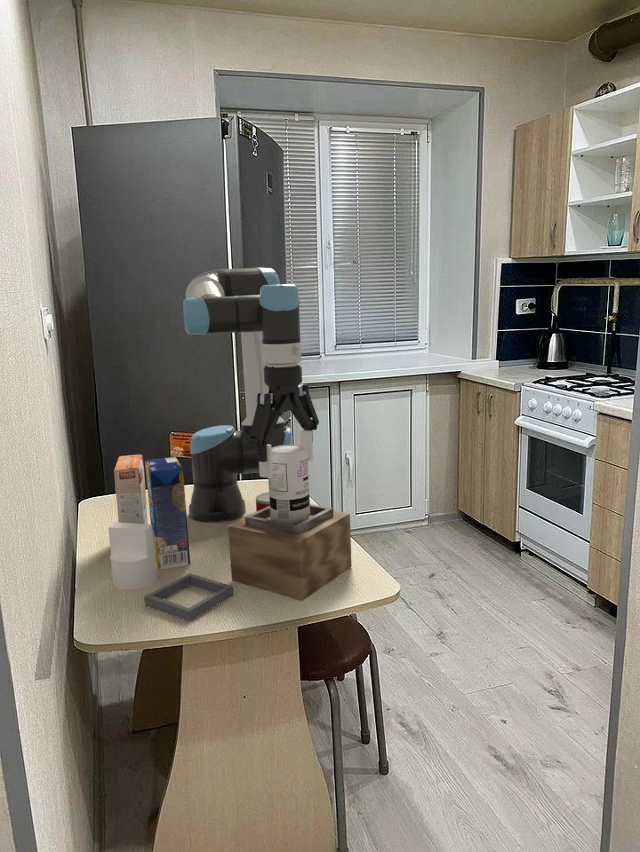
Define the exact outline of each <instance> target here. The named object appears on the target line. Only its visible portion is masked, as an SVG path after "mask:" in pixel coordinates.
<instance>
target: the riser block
mask: <svg viewBox="0 0 640 852" xmlns="http://www.w3.org/2000/svg"><path fill="white" fill-rule="evenodd" d="M227 529H228V546H229V557H230V558H229V559H230V572H231V573H230V575H231V581H232V582H236V583H238V584H239V583H240V584H243V585H246V586H249V587H253V588H256V589H260V590H264V591H267V592H270V593H274V594H277V595H282V596H283V597H288V598H290V599H291V598H292V599H296V600H298V601H304V600H306V599H307V598H309V597H310V596H311V595H313V594H314V593H316V592H317V591H319V590H320V589H322V588H323V587H324V586H326V585H327V584H329V583H330V582H332V581H333V580H334V579H335V580H336V578H338V577H339V576H340V575H342V574H343V573H345V572H347V570H349V569H351V568H352V566H353V565H352V543H351V542H352V541H351V539H352V536H351V513H349V512H343V511H339V510H334V508H333V507H328V506H322V505H318V504H311V503H310V517H309V518H307V519H306V520H305V521H303V522H301V523H299V524H294V525H291V524H287V523H282V522H277V521H274V520H272V519H271V517H270V506H268V507H266V508H263V509H261V510H259V511H257V512H256V511H254V512H252V513H250V514H248V515H246V516H245V517H243V518H241V519H239V520H236V521H235V522H233V523H230V524H229V525H227Z"/></svg>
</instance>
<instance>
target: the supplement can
mask: <svg viewBox="0 0 640 852" xmlns="http://www.w3.org/2000/svg"><path fill="white" fill-rule="evenodd" d="M272 468H273V477H272V478H267V479H268V482H267V483H268V492H269V501H270V517H271V519H272V520H274V521H277V522H282V523H287V524H291V525H294V524H299V523H301V522H303V521H305V520H306V519H307V518H309V517H310V504H311V503H310V502H311V500H310V499H311V498H310V481H309V479H310V477H309V476H310V475H309V461H308V454H307V453H306V451H305V449H304V447H303V446H300V444H292V445H280V446H275V447H272Z"/></svg>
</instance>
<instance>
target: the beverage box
mask: <svg viewBox="0 0 640 852" xmlns="http://www.w3.org/2000/svg"><path fill="white" fill-rule="evenodd" d="M144 464H145V465H144V466H145V474H146V475H145V476H146V487H147V495H148V496H147V497H148V506H149V508H148V509H149V519H150V520H149V521H150V525H152V529H153V539H154V549H155V554H156V565H157V568H158V570H159V571H160V570H164V569H165V570H166V569H172V568H177V567H183V566H189V565H191V554H190V552H191V551H190V542H189V541H190V540H189V539H190V538H189V529H188V517H187V516H188V514H187V503H186V493H185V490H186V489H185V479H184V477H185V476H184V468H183V466H182V465H181V463H180V461H179V460H178V459H177V456H173V457H164V458H156V459H147V460H144Z"/></svg>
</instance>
